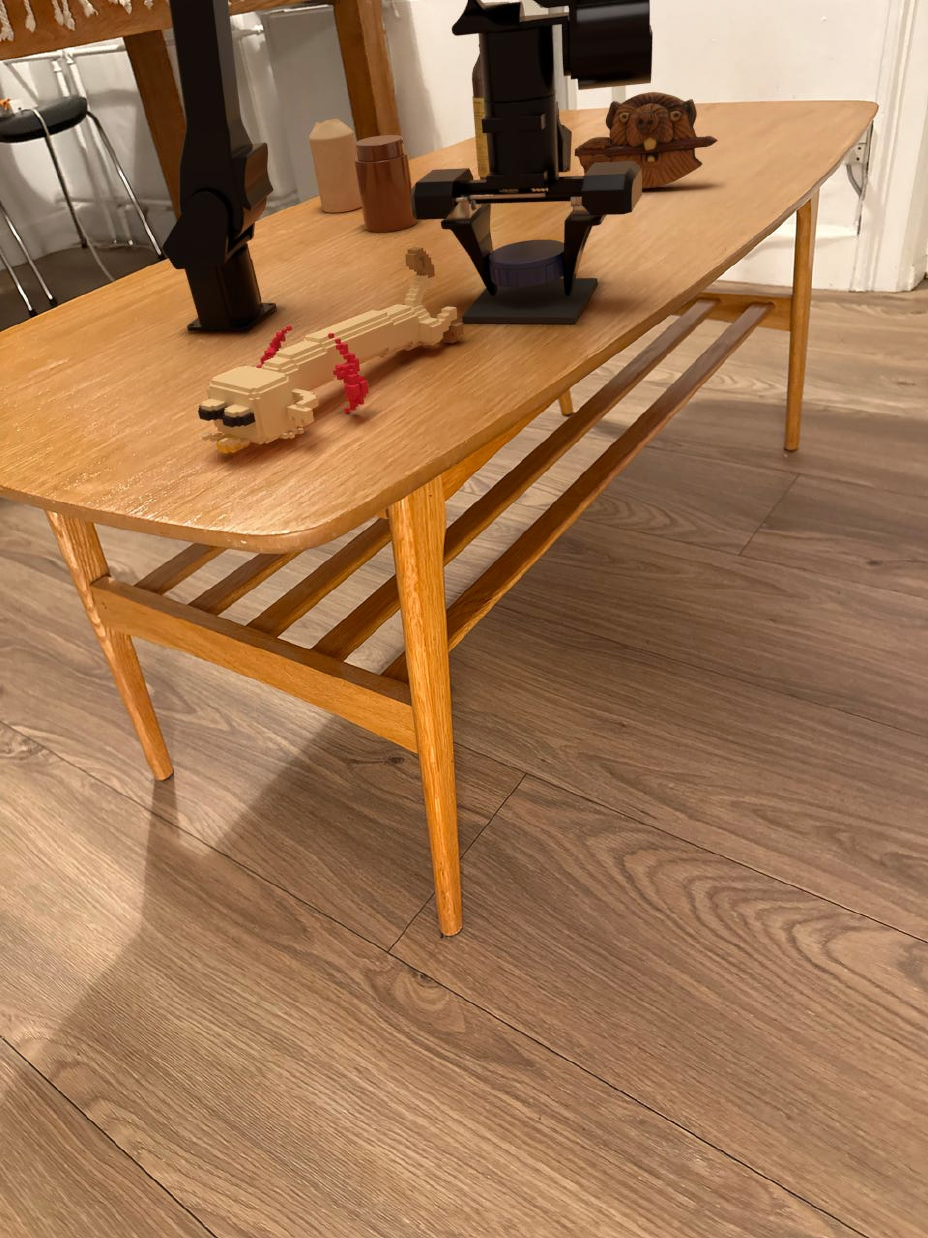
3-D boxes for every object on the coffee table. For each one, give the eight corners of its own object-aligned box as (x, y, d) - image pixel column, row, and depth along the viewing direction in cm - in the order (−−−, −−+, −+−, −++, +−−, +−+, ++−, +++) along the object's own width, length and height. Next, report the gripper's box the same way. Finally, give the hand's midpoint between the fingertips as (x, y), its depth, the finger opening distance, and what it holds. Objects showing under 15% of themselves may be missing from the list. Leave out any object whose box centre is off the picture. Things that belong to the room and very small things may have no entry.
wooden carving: (573, 197, 110) (570, 103, 104) (578, 187, 113) (576, 95, 107) (714, 189, 106) (720, 91, 100) (715, 180, 109) (721, 84, 103)
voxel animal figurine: (393, 343, 81) (168, 441, 65) (383, 238, 76) (137, 316, 60) (485, 359, 76) (266, 470, 60) (480, 248, 71) (240, 336, 55)
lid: (512, 261, 84) (509, 238, 83) (581, 262, 81) (579, 239, 80) (477, 286, 80) (474, 263, 79) (548, 288, 77) (546, 264, 76)
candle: (357, 211, 115) (343, 123, 109) (316, 214, 117) (300, 126, 111) (369, 200, 120) (356, 114, 114) (330, 202, 121) (314, 117, 115)
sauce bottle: (518, 196, 113) (506, 3, 101) (472, 196, 115) (455, 8, 103) (536, 182, 118) (526, -3, 106) (491, 183, 120) (476, 1, 108)
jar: (407, 231, 106) (395, 144, 100) (357, 233, 107) (343, 147, 102) (423, 216, 110) (413, 132, 105) (375, 218, 112) (363, 135, 106)
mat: (574, 324, 77) (574, 317, 77) (462, 323, 80) (461, 316, 80) (597, 284, 84) (597, 277, 84) (494, 284, 87) (493, 278, 87)
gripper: (653, 70, 75) (650, 264, 85) (441, 85, 81) (459, 265, 90) (631, 95, 67) (629, 306, 77) (396, 110, 73) (422, 305, 82)
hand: (531, 293), depth 82 cm, fingers closed on lid, 6 cm apart
